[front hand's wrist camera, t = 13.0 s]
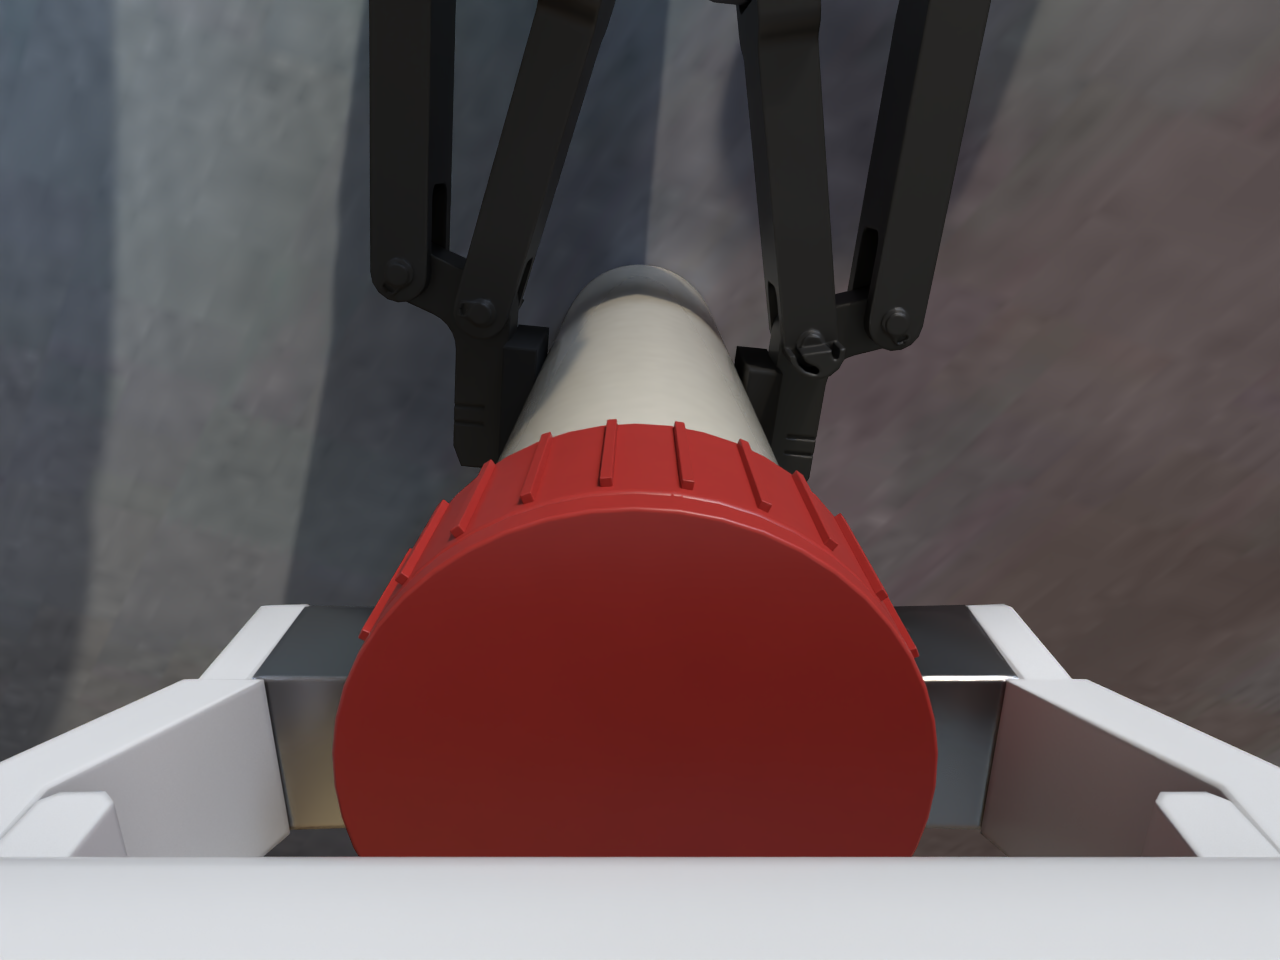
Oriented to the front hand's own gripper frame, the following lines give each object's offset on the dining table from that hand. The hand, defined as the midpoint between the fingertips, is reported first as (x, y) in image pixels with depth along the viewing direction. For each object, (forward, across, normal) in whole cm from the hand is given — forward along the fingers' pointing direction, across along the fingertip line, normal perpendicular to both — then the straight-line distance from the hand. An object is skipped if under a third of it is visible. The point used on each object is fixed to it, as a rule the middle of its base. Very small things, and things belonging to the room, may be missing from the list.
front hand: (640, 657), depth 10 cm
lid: (-2, 0, 0) cm, 2 cm away
